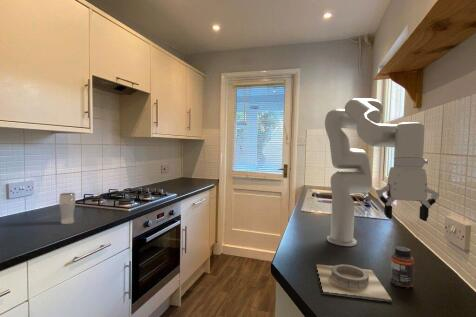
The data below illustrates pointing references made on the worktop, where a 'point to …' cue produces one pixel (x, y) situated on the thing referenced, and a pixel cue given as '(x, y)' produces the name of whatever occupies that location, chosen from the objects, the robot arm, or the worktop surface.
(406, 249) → the supplement bottle
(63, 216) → the beer glass
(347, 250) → the worktop surface
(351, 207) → the robot arm
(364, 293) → the collar board
